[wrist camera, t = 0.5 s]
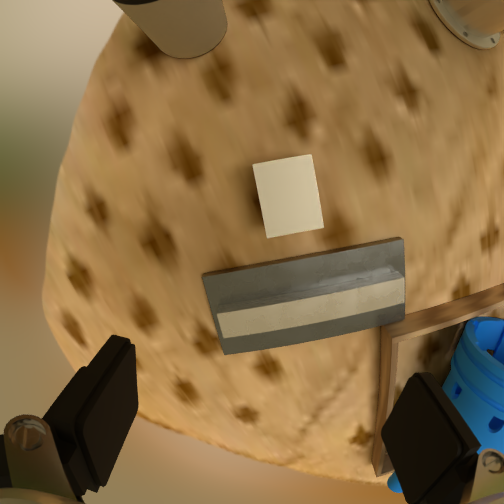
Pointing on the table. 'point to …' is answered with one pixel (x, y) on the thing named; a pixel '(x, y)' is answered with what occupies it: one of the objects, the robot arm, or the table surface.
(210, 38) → the travel mug
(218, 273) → the rail board
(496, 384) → the tube
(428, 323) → the brown wooden tray
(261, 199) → the block
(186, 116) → the table surface
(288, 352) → the table surface
